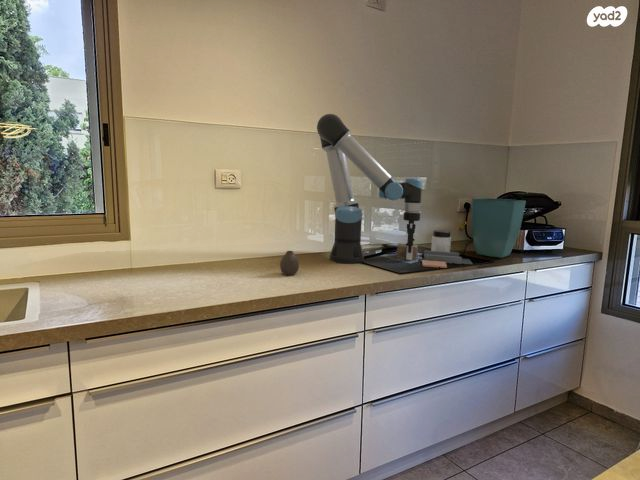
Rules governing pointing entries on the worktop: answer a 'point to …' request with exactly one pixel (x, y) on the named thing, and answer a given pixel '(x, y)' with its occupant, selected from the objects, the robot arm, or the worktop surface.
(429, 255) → the channel
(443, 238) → the jar
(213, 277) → the worktop surface
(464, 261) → the trap mat
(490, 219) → the flower pot
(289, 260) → the vase
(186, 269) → the worktop surface
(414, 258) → the block
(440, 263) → the block
